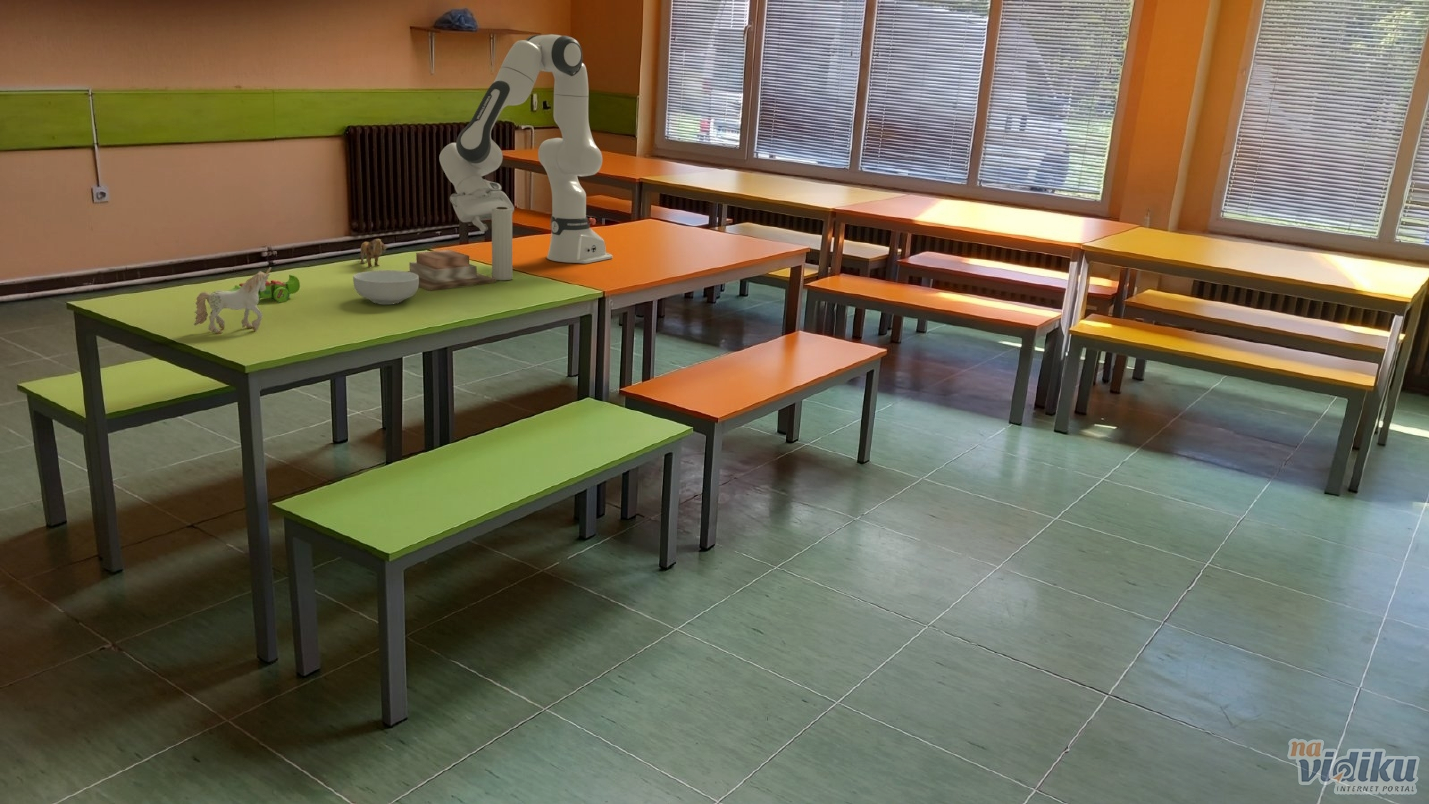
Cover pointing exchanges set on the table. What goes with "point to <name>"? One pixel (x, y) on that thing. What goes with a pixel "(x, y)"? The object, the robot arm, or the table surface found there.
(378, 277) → the cereal bowl
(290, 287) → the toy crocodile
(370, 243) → the lion figurine
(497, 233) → the paper towel roll
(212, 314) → the unicorn figurine
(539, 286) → the table surface
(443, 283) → the brown square stepped pedestal
